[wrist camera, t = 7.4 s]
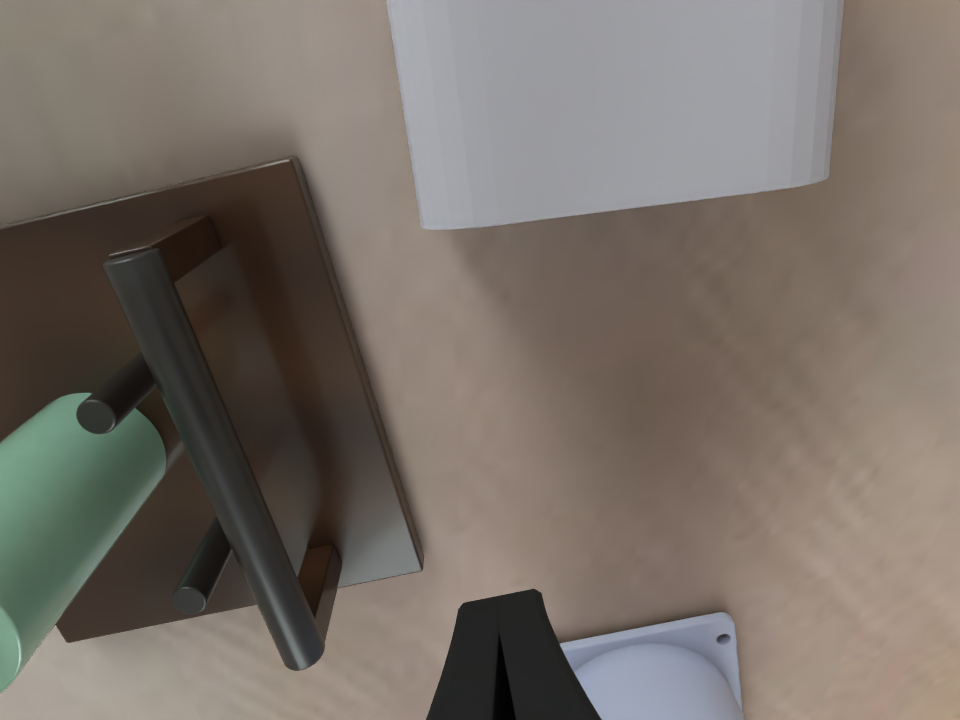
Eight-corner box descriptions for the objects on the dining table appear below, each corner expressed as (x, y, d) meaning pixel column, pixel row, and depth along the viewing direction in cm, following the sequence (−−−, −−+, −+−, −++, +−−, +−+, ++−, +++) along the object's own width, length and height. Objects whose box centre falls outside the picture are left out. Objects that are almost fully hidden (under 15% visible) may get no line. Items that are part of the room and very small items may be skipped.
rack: (424, 556, 23) (417, 681, 18) (78, 627, 24) (-18, 766, 19) (297, 154, 18) (239, 180, 13) (-145, 259, 19) (-361, 321, 14)
